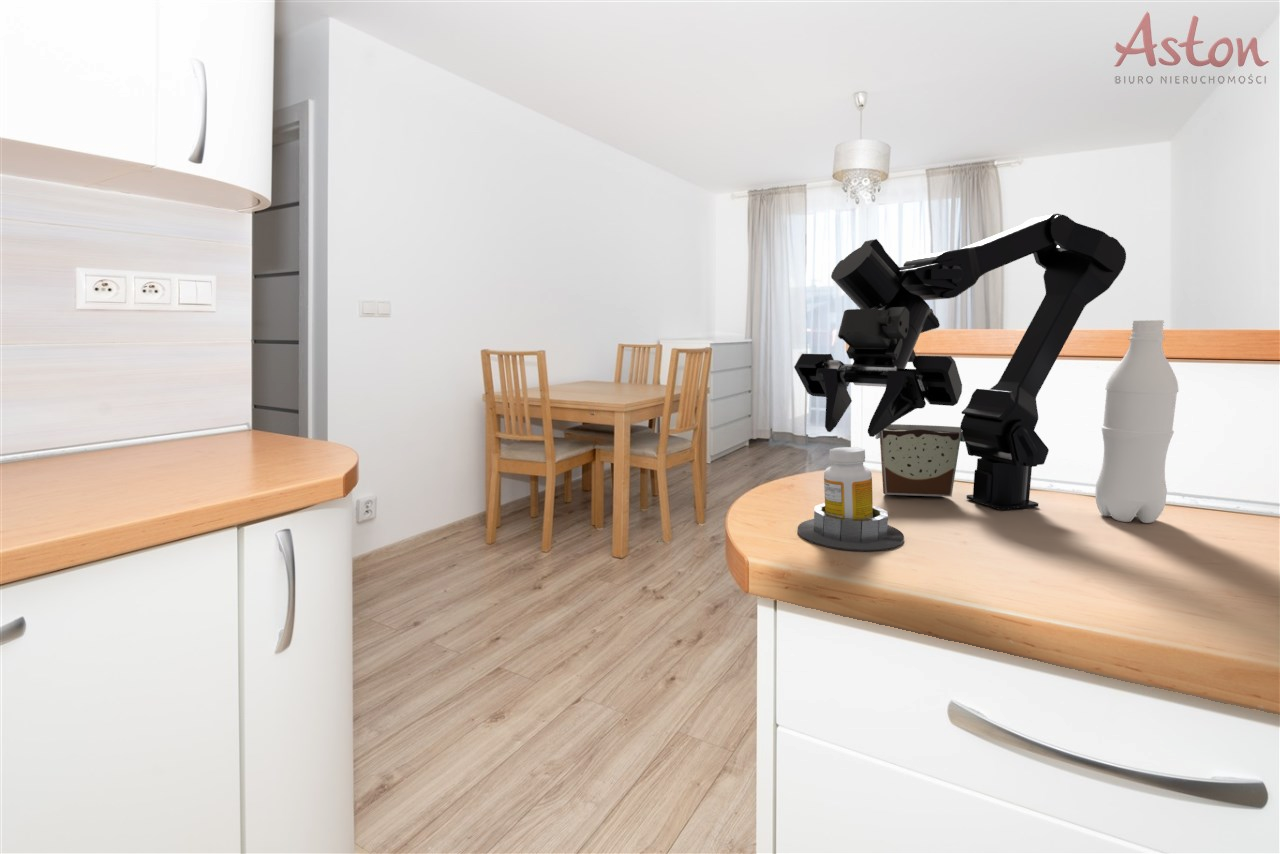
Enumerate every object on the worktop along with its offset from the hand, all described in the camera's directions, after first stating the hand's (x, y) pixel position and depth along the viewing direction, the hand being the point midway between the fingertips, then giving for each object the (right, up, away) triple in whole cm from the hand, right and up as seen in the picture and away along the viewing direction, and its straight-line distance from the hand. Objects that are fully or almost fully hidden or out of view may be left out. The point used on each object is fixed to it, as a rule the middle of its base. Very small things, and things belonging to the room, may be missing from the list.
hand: (848, 432), depth 73 cm
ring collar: (+1, -12, +3) cm, 13 cm away
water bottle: (+39, -11, +9) cm, 41 cm away
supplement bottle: (+1, -12, +3) cm, 12 cm away
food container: (+16, -9, +22) cm, 29 cm away
